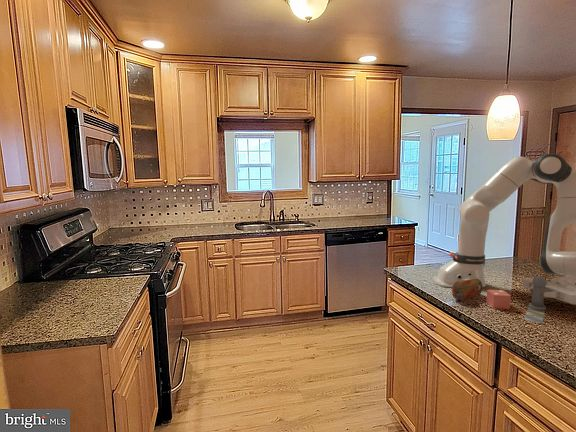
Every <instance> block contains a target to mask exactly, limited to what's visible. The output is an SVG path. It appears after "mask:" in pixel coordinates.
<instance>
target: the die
mask: <svg viewBox="0 0 576 432" xmlns="http://www.w3.org/2000/svg"><path fill="white" fill-rule="evenodd" d="M486 291H487V292H486V301H485V302H486V303H487V304H488V305H489V306H490V307H491V308H492V309H505V310H510V309H511V302H512V301H511V299H512V296H511V294H509V293H508V291H505V290H504V289H486Z"/></svg>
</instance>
